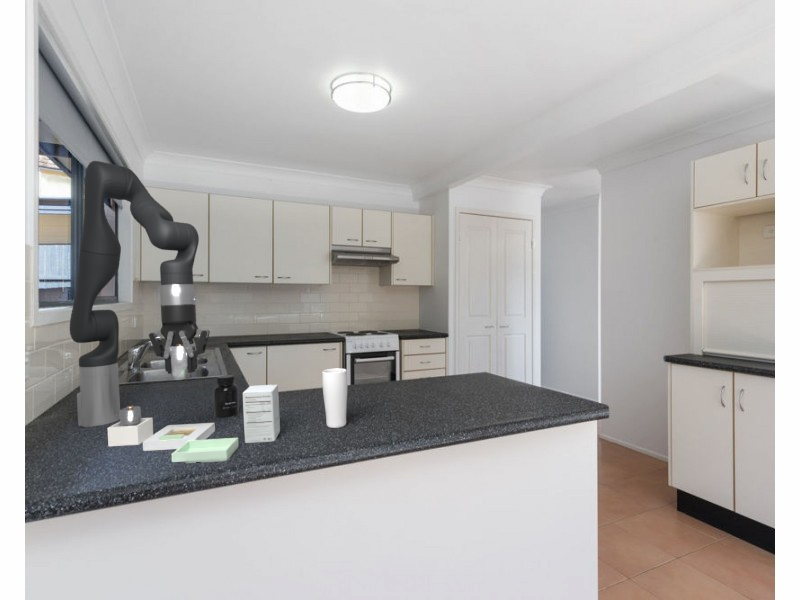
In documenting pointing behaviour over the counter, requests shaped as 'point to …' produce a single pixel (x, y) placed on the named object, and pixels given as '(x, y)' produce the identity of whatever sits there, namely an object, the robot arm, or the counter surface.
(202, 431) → the frame
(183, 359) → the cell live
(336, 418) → the drinking glass
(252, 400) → the supplement box
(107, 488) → the counter surface
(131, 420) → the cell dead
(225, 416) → the supplement bottle
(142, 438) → the white open box sleeve
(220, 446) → the trough
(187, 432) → the contact plate
